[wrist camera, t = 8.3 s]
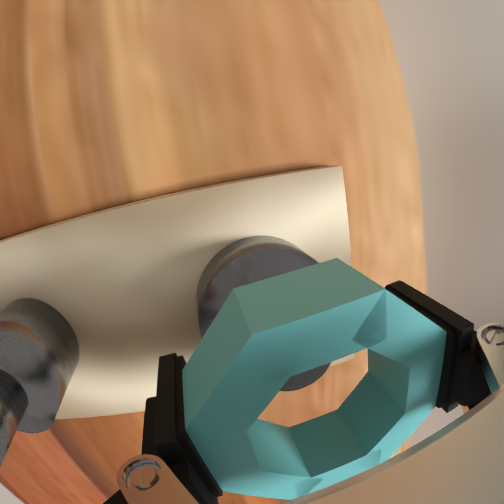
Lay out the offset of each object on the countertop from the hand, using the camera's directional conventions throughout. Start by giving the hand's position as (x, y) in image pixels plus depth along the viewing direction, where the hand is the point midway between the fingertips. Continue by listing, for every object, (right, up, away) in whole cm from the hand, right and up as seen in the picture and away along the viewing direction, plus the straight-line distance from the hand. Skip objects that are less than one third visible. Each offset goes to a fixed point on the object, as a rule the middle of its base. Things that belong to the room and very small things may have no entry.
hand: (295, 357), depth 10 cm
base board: (-7, 0, +6) cm, 9 cm away
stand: (-13, -1, +3) cm, 13 cm away
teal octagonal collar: (0, 0, -1) cm, 1 cm away
